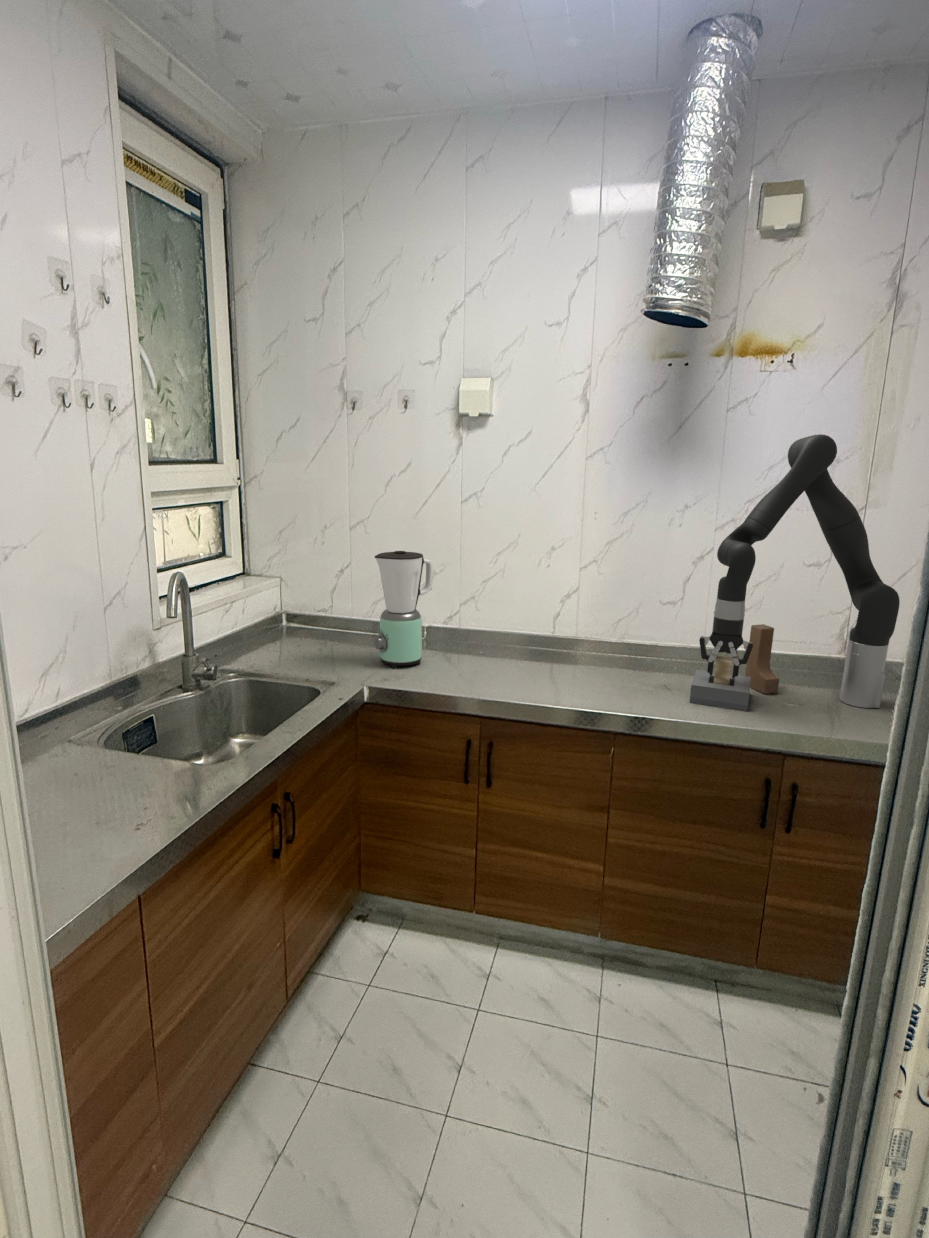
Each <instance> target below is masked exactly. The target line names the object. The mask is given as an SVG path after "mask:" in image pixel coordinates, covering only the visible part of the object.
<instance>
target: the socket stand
mask: <svg viewBox="0 0 929 1238" xmlns="http://www.w3.org/2000/svg"><path fill="white" fill-rule="evenodd" d="M714 674H715V671H713V674H712V675H710V673H708V672H707V670H702V669H696V670H695V672H694V675H693V678H692V681H691V684H690V693H689V703H692V704H698V705H705V706H711V707H718V708H725V709H732V710H737V711H746V712H748V710H749V709H748V708H749V699H750V692H751V687H750V680H751V677H748V676H745V675H739V674H738V676H737V677H736V676H735V678H732V675H733V673H732V674H730V683H729V685H722V684H715V683H714Z"/></svg>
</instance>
